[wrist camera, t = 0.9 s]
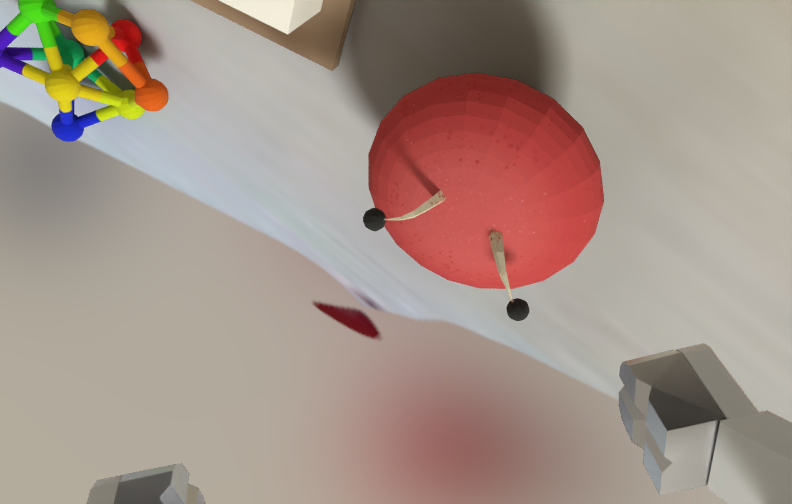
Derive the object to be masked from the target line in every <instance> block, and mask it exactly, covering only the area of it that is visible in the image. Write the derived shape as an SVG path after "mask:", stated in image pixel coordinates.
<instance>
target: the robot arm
mask: <svg viewBox="0 0 792 504" xmlns="http://www.w3.org/2000/svg"><path fill="white" fill-rule="evenodd" d="M619 376H620V378H621V380H622V382H623V384H624V387H623V388H622V389H621V390H620V392H619V409H620V413H621V418H622V421H623V424H624V426H625V429H626V431H627V433H628V435H629V437H630V439H631V441H632V442H633V443H634V444H636V445H637V446H639V447H641V448H642V449H644V454H643V464H644V466H645V468H646V470H647V472H648V474H649V476H650V477H651V479H652V481H653V483H654V485H655V487H656V489H657V491H658V493H659V495H662V494H667V493H672V492H677V491H682V490H687V489H692V488H697V487H702V486H707V485H708V486H707V488H708V489H709V490H710V491H712V492H713V493H714V494H716V495H717V496H719V497H720V498H721V499H722V500H724V501H725V502H727V503H728V504H792V423H791V422H789V421H787V420H785V419H783V418H781V417H779V416H777V415H776V414H774V413H772V412H770V411H768V410H767V411H761V412H759V411H758V410H757V409H756V407H755V406H754V405H753V403H752V402H751V401H750V399H749V398H748V397H747V395H746V394H745V393H744V391H743V390H742V389H741V387H740V386H739V385H738V383H737V382H736V381H735V379H734V378H733V377H732V375H731V374H730V373H729V372H728V370H727V369H726V368H725V366H724V365H723V364H722V362H721V361H720V360H719V358H718V357H717V356H716V354H715V353H714V352H713V350H712V349H711V348H710V347H709V346H708V345H706V344H699V345H695V346H690V347H686V348H681V349H677V350H670V351H666V352H662V353H658V354H654V355H649V356H645V357H641V358H637V359H633V360H629V361H624V362H622V364H621V366H620V374H619ZM188 480H189V472H188V471H187V469H186V468H185V467H184V465H183V464H182V463H180V464H174V465H169V466H164V467H159V468H154V469H149V470H144V471H139V472H134V473H129V474H124V475H120V476H115V477H110V478H105V479H101V480H97V481H96V483H95V484H94V485H93V487H92V488H91V490H90V493H89V497H88V501H87V504H206V503H205V500H204V497H203V495H202V493H201V491H200V490H199V488H198V487H195V486H193V485H191V484H188Z"/></svg>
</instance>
